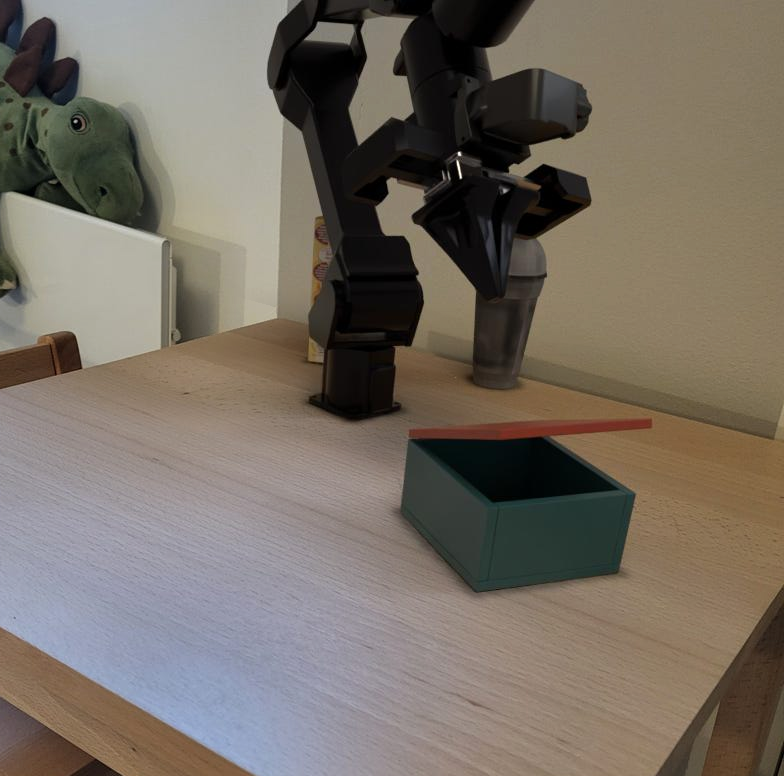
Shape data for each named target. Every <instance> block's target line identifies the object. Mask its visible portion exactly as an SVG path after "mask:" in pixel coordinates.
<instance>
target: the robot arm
mask: <svg viewBox="0 0 784 776" xmlns="http://www.w3.org/2000/svg"><path fill="white" fill-rule="evenodd" d="M535 1H536V0H300V1H299V2H298V3H297V4H296V5H295V6H294V7H293V8H292V9H291V10H290V11H289V12H288V13H287V14H286V15H285V16H284V17H283V18H282V19H281V20H280V21H279V23H278V24H277V26H276V30H275V33H274V36H273V40H272V44H271V47H270V50H269V55H268V59H267V65H266V80H267V85H268V89H270V90H271V91H272V92H273V93H272V94H273V97H274V99H275V103H276V106H277V108H278V110H279V113H280V115H281V116H282V117H283V118H285V120H287V121H288V122H289V123H291V124H292V125H293V126H294V127H295V128H296V129H297V130H299V131H300V132H301V134H302V139H303V142H304V146H305V147H304V148H305V150H306V155H307V158H308V163H309V165H310V166H309V167H310V170H311V175H312V178H313V182H314V187H315V190H316V194H317V198H318V202H319V206H320V210H321V214H322V215H321V216H323V219H324V223H325V227H326V231H327V235H328V239H329V243H330V247H331V251H332V258H331V261H330V263H329V265H328V268H327V270H326V273H325V275H324V278H323V280H322V289H321V291H320V293H319V294H318V296H317V298H316V300H315V302H314V304H313V306H312V308H311V307H310V310H309V312H308V314H307V322H308V324H307V325H308V338H309V337H310V338H311V339H312V340H314V341H315V342H316V343H317V344H318V345H320V346H321V347H322V348H323V349H324V359H323V363H322V377H321V392H320V393H319V392H318V393H315V394H310V395H308V402H309V403H312V404H313V405H316V406H318V407H320V408H323V409H325V410H327V411H329V412H331V413H334V414H336V415H338V416H341V417H342V418H345V419H348V420H350V421H358V420H362V419H366V418H370V417H374V416H378V415H383V414H386V413H390V412H394V411H398V410H401V409H402V405H403V403H402V402H400V401H397V400H395V399H394V392H395V381H396V371H397V366H396V365H395V360H396V359H395V358H396V357H395V356H396V347H405V348H409V347H410V348H411V347H412V345H413V343H414V339H415V338H416V337H415V336H416V333H417V330H418V327H419V323H420V319H421V316H422V313H423V309H424V306H425V300H424V299H425V298H424V289H423V287H422V284H421V282H420V280H419V279H418V276H419V275H420V271H419V270H418V268H417V266H416V264H415V262H414V259H413V254H412V248H411V244H410V241H408V239H407V238H406V237H405V235H387V234H386V233H384V231H383V227H382V225H381V222H380V221H381V220H380V218H379V214H378V211H377V207H378V206H379V205H381V204H382V203H383V202H384V201H385V199H386V198H387V197H388V196H389V194H390V192H389V186H388V181H389V180H390V179H391V178H392V179H395V180H396V184H398V185H403V186H406V187H409V188H414V189H418V190H421V191H423V193H424V195H423V196H422V201H423V205H422V206H421V207H420V208H418V209H417V210H416V211H414V212H413V213H412V214H411V216H410V217H411V221H412V223H413V224H414V225H415V226H420V227H421V228H422V229H423V230H424V231H425V232H426V233H427V234H428V236H429V237H430V238H431V239H432V240H433V241H434V242H435V243H436V244H437V245H438V246H439V247H440V248H441V250H442V251H443V252H444V253H445V254H446V255H447V256H448V257H449V259H450V260H451V261H452V262H453V264H455V266H456V267H457V269H458V270H459V271H460V272H461V273H462V274H463V276H464V277H465V278H466V279H467V280H468V282H469V283H470V285H472V287H473V288H474V290H475V289H476V290H477V291H478V293H479V294H480V295H481V296H482V297H483V299H484V300H485V301H487V302H492V303H496V302H497V301H499V300H501V299H503V298H504V297H505V294H506V287H507V280H508V273H509V267H510V260H511V253H512V246H513V241H514V238H518V239H522V240H530V239H535V238H536V239H537V238H539V237H541V236H543V235H544V234H546V233H547V232H549V231H551V230H553V229H554V228H556V227H558V226H559V225H561V224H563V223H565V222H566V221H567V220H570V219H571V218H572V217H574V216H576V215H577V214H579V213H581V212H582V211H584V210H586V209H587V208H589V207H591V205H592V201H593V200H592V196H591V191H590V188H589V183H588V179H587V177H586V176H583V175H581V174H578V173H576V172H572V171H569V170H566V169H562V168H559V167H556V166H553V165H550V164H547V163H542V164H540V165H539V166H538V167H536V168H534V169H533V170H531V171H530V172H529V173H527V174H526V175H525V176H519V175H516V174H513V173H510V167H511V166H513V165H517V166H519V165H520V164H522V163H523V162H525V161H526V160H528V159H530V158H531V157H532V152H531V148H530V146H534V145H538V144H542V143H545V142H550V141H554V140H557V139H561V140H563V141H565V140H569V139H573V138H574V137H575V136H576V134H578V133H581V132H583V131H584V130H585V129H586V128H587V126H588V125H589V122H590V116H591V114H592V112H593V104H592V103H591V102H590V100H589V98H588V96H587V93H588V89H585V87H584V85H583V84H582V83H581V82H577V81H576V80H573V79H570V78H568V77H565V76H563V75H560V74H558V73H556V72H553V71H550V70H547V69H546V68H545V69H544V68H540V67H532V68H531V67H530V68H525V69H521V70H519V71H516V72H514V73H510V74H508V75H505V76H502V77H499V78H496V79H493V75H492V71H491V67H490V62H489V57H488V52H487V49H489V48H490V49H491V48H496V47H498V46H500V45H503V44H504V43H505V42H507V41H508V39H509V38H510V37H511V35H512V34H513V32H514V31H515V30H516V28H517V27H518V26H519V24H520V22H521V21H522V20H523V18H524V17H525V15H526V14H527V13H528V11H530V9H531V7H532V5H533V4H534V3H535ZM382 17H385V18H397V19H409V20H412V21H411V22H410V23H409V24H408V26H407V28H406V29H405V31H404V32H403V35H402V37H401V39H400V42H399V46H400V49H399V51H398V53H397V55H396V56H395V58H394V62H393V65H392V66H393V67H392V74H393V76H396V77H406V81H407V85H408V90H409V91H408V92H409V95H410V100H411V105H412V110H413V111H412V113H410V114H409V115H408V116H406V118H404V120H403V119H400V118H397V117H393V116H391V117H389V118H388V119H386V121H385V122H384V123H383V124H381V125H380V126H379V127H378V128H377V129H376V130H374V131H373V132H372V133H371V134H370V135H369V136H368V137H366V139H364V140H363V142H361V143H360V144H359V141H358V137H357V134H356V130H355V126H354V123H353V120H352V117H351V112H350V107H351V105H352V102H353V99H354V96H355V94H356V92H357V89H358V87H359V82H360V79H361V75H362V73H363V71H364V68H365V66H366V64H367V60H368V53H367V49H366V45H365V42H364V38H363V34H362V29H363V26H364V24H365V21H366V20H371V19H377V18H382ZM318 23H327V24H341V25H352V27H353V34H352V36H351V39H350V42H349V43H347V42H339V41H338V42H337V41H325V40H324V41H322V40H311V39H307V38H308V37H309V36H310V35H311V34H312V33H313V32H314V31H315V29H316V28H317V26H318ZM476 290H475V291H476Z"/></svg>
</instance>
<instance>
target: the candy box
mask: <svg viewBox="0 0 784 776" xmlns="http://www.w3.org/2000/svg"><path fill="white" fill-rule="evenodd" d="M313 228H314V230H313V248H312V249H313V250H312V272H311V293H310V309H311V308H312V306H313V304H314V302H315V300H316V298H317V296H318V294H319V293H320V291H321V289H322V280H323V278H324V275H325V273H326V270H327V268H328V265H329V263H330V261H331V258H332V251H331V247H330V243H329V239H328V235H327V231H326V227H325V223H324V219H323V215H320V216H319V215H318V216H315V217H314V227H313ZM307 354H308V355H307V361H308V362H312V363H317V364H318V363H319V364H323V359H324V349H323V348H322V347H321V346H320V345H318V344H317V343H316V342H315V341H314V340H312V339H311V338H310V337H309V336H308V353H307Z"/></svg>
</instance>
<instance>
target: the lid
mask: <svg viewBox="0 0 784 776" xmlns="http://www.w3.org/2000/svg"><path fill="white" fill-rule="evenodd" d="M652 428H653V419H652V418H649V417H648V418H647V417H645V418H644V417H643V418H589V419H588V418H587V419H583V418H582V419H579V418H578V419H535V420H521V421H507V422H506V421H505V422H493V423H478V424H476V423H475V424H465V425H464V424H463V425H450V426H436V427H435V426H433V427H421V428H409V429H408V439H412V438H417V439H418V438H438V439H482V440H506V439H519V438H532V437H545V436H549V437H557V436H569V435H582V434H594V433H595V434H597V433H608V432H623V431H633V430H634V431H635V430H636V431H637V430H646V429H648V430H649V429H652Z"/></svg>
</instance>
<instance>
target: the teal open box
mask: <svg viewBox="0 0 784 776" xmlns="http://www.w3.org/2000/svg"><path fill="white" fill-rule="evenodd" d="M403 474H404V475H403V483H402V484H403V486H402V491H401V492H402V494H401V504H400V510H399V511H400V512H399V513H401V515H402V516H403V517H404V518H405V519H406V520H407V521H408V522H409V524H411V525H412V526H413V528H414V529H416V530H417V531H418V533H420V535H421V536H422V537H423V538H424V539H425V540H426V541H427V542H428V543H429V544H430V545H431V546H432V548H434V550H436V552H438V554H439V555H440V556H441V557H442V558H443V559H444V560H445V561H446V562H447V563H448V564H449V565H450V566H451V567H452V568H453V569H454V571H456V573H457V574H458V575H459V576H460V577H461V578H462V579H463V580H464V581H465V582H466V583H467V584H468V585H469V587H471V588H472V589H473V591H474V592H476V593H479V592H486V591H493V590H502V589H508V588H509V589H510V588H517V587H523V586H532V585H537V584H545V583H546V584H547V583H552V582H553V583H554V582H561V581H569V580H576V579H583V578H591V577H597V576H607V575H613V574H618V573H619V572H620V567H621V563H622V560H623V554H624V552H625V551H624V550H625V545H626V541H627V536H628V533H629V528H630V524H631V519H632V515H633V509H634V506H635V502H636V497H637V493H636V492H635V491H634V490H632V489H630V488H629V487H628V486H625V484H623V483H621V482H620V481H619V480H617V479H615V478H614V477H612V476H611V475H609V474H607V473H606V472H604V471H603V470H602V469H600V468H599V467H597V466H595V465H594V464H592V463H590V462H589V461H587V460H586V459H585V458H583V457H582V456H580V455H579V454H577V453H575V452H574V451H572V450H571V449H569V448H568V447H566V446H565V445H564V444H562V443H560V442H559V441H558V440H555V439H554V438H552V436H545V437H532V438H519V439H506V440H482V439H438V438H408V439H407V446H406V455H405V466H404V473H403Z"/></svg>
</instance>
